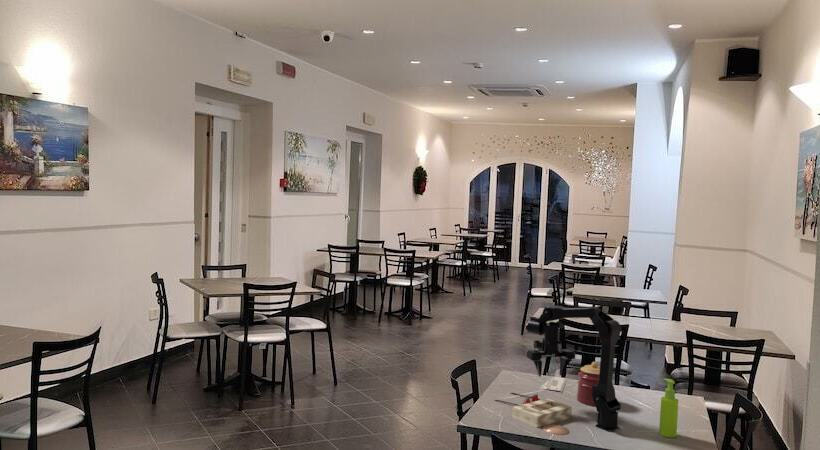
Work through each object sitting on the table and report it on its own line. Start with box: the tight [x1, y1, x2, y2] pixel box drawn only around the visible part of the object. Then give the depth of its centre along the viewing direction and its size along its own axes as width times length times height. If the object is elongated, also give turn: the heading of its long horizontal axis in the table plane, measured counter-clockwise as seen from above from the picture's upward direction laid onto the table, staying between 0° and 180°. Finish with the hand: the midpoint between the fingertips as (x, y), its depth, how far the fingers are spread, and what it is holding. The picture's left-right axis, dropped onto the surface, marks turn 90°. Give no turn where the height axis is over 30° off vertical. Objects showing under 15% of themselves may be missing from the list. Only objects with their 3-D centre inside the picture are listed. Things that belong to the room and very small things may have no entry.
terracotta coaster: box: [542, 423, 569, 436], centre depth 232 cm, size 9×9×1 cm
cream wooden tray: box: [512, 398, 573, 428], centre depth 244 cm, size 20×12×5 cm, turn 128°
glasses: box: [493, 392, 541, 406], centre depth 262 cm, size 14×16×5 cm
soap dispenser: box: [658, 378, 679, 438], centre depth 233 cm, size 6×7×20 cm
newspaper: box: [539, 376, 568, 393], centre depth 288 cm, size 23×12×2 cm, turn 160°
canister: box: [576, 361, 600, 408], centre depth 266 cm, size 13×13×18 cm
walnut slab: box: [531, 404, 553, 411], centre depth 244 cm, size 8×4×2 cm, turn 128°
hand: (550, 375), depth 255 cm, fingers open, 9 cm apart
